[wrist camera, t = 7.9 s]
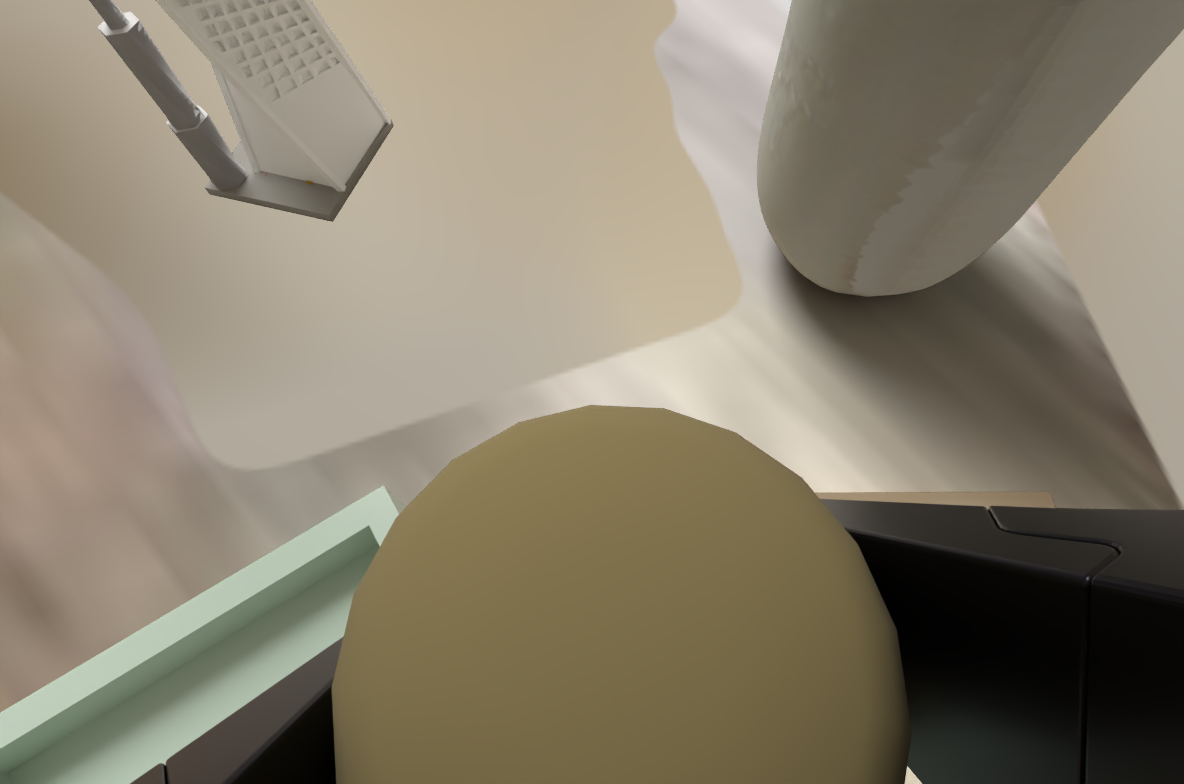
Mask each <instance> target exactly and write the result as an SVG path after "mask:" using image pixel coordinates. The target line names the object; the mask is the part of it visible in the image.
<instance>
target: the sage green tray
mask: <svg viewBox="0 0 1184 784" xmlns="http://www.w3.org/2000/svg"><path fill="white" fill-rule="evenodd" d="M405 508H406V506H405V505H404V504H403V503H402V502H400V501H399V500H398V499H397V498H396V497H395V496H394V495H393V494H392V493H391V492H390V491H389V490H388V489H387V488H386V487H385V486H384V485H383V486H381V487H380V488H378V489H376V490H375V491H373V492H371V493H370V494H368V495H366V496H365V497H363V498H361V499H360V500H358V501H356V502H354V503H353V504H351V505H349V506H348V507H346V508H344V509H343V510H341V511H339V512H338V513H336V514H334V515H333V516H331V517H329V518H327V519H326V520H324V521H322V522H321V523H319V524H317V525H316V526H314V527H312V528H311V529H309V530H307V531H306V532H304V533H302V534H301V535H299V536H297V537H295V538H294V539H292V540H290V541H289V542H287V543H285V544H284V545H282V546H280V547H279V548H277V549H275V550H274V551H272V552H270V553H269V554H267V555H265V556H263V557H262V558H260V559H258V560H257V561H255V562H253V563H252V564H250V565H248V566H247V567H245V568H243V569H242V570H240V571H238V572H237V573H235V574H233V575H231V576H230V577H228V578H226V579H225V580H223V581H221V582H220V583H218V584H216V585H215V586H213V587H211V588H210V589H208V590H206V591H204V592H203V593H201V594H199V595H198V596H196V597H194V598H193V599H191V600H189V601H188V602H186V603H184V604H183V605H181V606H179V607H178V608H176V609H174V610H172V611H171V612H169V613H167V614H166V615H164V616H162V617H161V618H159V619H157V620H156V621H154V622H152V623H151V624H149V625H147V626H146V627H144V628H142V629H140V630H139V631H137V632H135V633H134V634H132V635H130V636H129V637H127V638H125V639H124V640H122V641H120V642H119V643H117V644H115V645H114V646H112V647H110V648H108V649H107V650H105V651H103V652H102V653H100V654H98V655H97V656H95V657H93V658H92V659H90V660H88V661H87V662H85V663H83V664H81V665H80V666H78V667H76V668H75V669H73V670H71V671H70V672H68V673H66V674H65V675H63V676H61V677H60V678H58V679H56V680H55V681H53V682H51V683H49V684H48V685H46V686H44V687H43V688H41V689H39V690H38V691H36V692H34V693H33V694H31V695H29V696H28V697H26V698H24V699H23V700H21V701H19V702H17V703H16V704H14V705H12V706H11V707H9V708H7V709H6V710H4V711H2V712H1V713H0V784H130V783H131V782H133V781H134V780H136V779H137V778H139V777H140V776H142V775H143V774H144V773H146V772H147V771H149V770H150V769H152V768H153V767H154V766H156V765H157V764H159V763H163V764H164V765H165V766H166V760H167V759H168V758H170V757H171V756H172V755H174V754H175V753H177V752H178V751H180V750H181V749H182V748H184V747H185V746H187V745H188V744H190V743H191V742H192V741H194V740H195V739H197V738H198V737H200V736H201V735H203V734H204V733H205V732H207V731H208V730H210V729H211V728H213V727H214V726H215V725H217V724H218V723H220V722H221V721H223V720H224V719H226V718H227V717H228V716H230V715H231V714H233V713H234V712H236V711H237V710H238V709H240V708H241V707H243V706H244V705H246V704H247V703H248V702H250V701H251V700H253V699H254V698H256V697H257V696H259V695H260V694H261V693H263V692H264V691H266V690H267V689H269V688H270V687H271V686H273V685H274V684H276V683H277V682H279V681H280V680H281V679H283V678H284V677H286V676H287V675H289V674H290V673H292V672H293V671H294V670H296V669H297V668H299V667H300V666H302V665H303V664H304V663H306V662H307V661H309V660H310V659H312V658H313V657H314V656H316V655H317V654H319V653H320V652H322V651H323V650H325V649H326V648H327V647H329V646H330V645H332V644H333V643H335V642H336V641H337V640H339V639H340V638H342V637H343V636H344V633H345V628H346V624H347V620H348V616H349V611H350V607H351V603H352V599H353V594H354V593H355V591H356V589H357V587H358V585H359V584H360V582H361V580H362V578H363V576H364V575H365V573H366V571H367V569H368V567H369V566H370V564H371V562H372V560H373V558H374V556H375V555H376V553H377V551H378V549H379V547H380V546H381V544H382V542H383V540H384V538H385V537H386V535H387V533H388V531H389V529H390V527H391V526H392V524H393V522H394V520H395V518H396V517H397V516H398V515H399V514H400V513H401V512H402V511H403V510H404V509H405Z"/></svg>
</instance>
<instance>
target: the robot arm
mask: <svg viewBox="0 0 1184 784" xmlns="http://www.w3.org/2000/svg"><path fill="white" fill-rule="evenodd" d="M820 500H821V501H822V502H823V503H824V505H825V506H826V507H827V508H828V509H829V511H830V512H831V513H832V514H833V515H834V517H835V518H836V519H837V520H838V521H839V523H840V524H841V525H842V526H843V527H844V528H845V530H846V531H847V532H848V533H849V534H850V536H851V537H852V538H853V539H854V540H855V542H856V543H857V544H858V546H859V548H860V550H861V552H862V555H863V557H864V559H865V561H866V563H867V566H868V568H869V570H870V572H871V574H872V577H873V579H874V581H875V583H876V585H877V588H878V590H879V592H880V594H881V596H882V598H883V601H884V603H885V605H886V607H887V609H888V612H889V614H890V616H891V618H892V620H893V623H894V625H895V627H896V629H897V634H898V641H899V647H900V654H901V661H902V667H903V674H904V680H905V687H906V694H907V700H908V707H909V713H910V720H911V727H912V735H911V741H910V748H909V755H908V762H907V766H908V767H909V768H910V769H911V771H912V772H913V773H914V774H915V775H916V777H917V778H918V779H919V780H920V781H921V783H922V784H1184V510H1126V509H1071V508H1042V507H1014V506H990V507H989V508H988V509H987V508H986V507H984V506H968V505H946V504H925V503H903V502H881V501H859V500H838V499H820ZM343 637H344V636H343ZM343 637H342V638H340V639H339V640H337V641H336V642H335V643H333V644H332V645H330V646H329V647H327V648H326V649H325V650H323V651H322V652H320V653H319V654H317V655H316V656H314V657H313V658H312V659H310V660H309V661H307V662H306V663H304V664H303V665H302V666H300V667H299V668H297V669H296V670H294V671H293V672H292V673H290V674H289V675H287V676H286V677H284V678H283V679H281V680H280V681H279V682H277V683H276V684H274V685H273V686H271V687H270V688H269V689H267V690H266V691H264V692H263V693H261V694H260V695H259V696H257V697H256V698H254V699H253V700H251V701H250V702H248V703H247V704H246V705H244V706H243V707H241V708H240V709H238V710H237V711H236V712H234V713H233V714H231V715H230V716H228V717H227V718H226V719H224V720H223V721H221V722H220V723H218V724H217V725H215V726H214V727H213V728H211V729H210V730H208V731H207V732H205V733H204V734H203V735H201V736H200V737H198V738H197V739H195V740H194V741H192V742H191V743H190V744H188V745H187V746H185V747H184V748H182V749H181V750H180V751H178V752H177V753H175V754H174V755H172V756H171V757H170V758H168V759H167V760H166V766H165V765H164V764H163V763H159V764H157V765H156V766H154V767H153V768H152V769H150V770H149V771H147V772H146V773H144V774H143V775H142V776H140V777H139V778H137V779H136V780H134V781H133V782H131V783H130V784H336V768H335V747H334V726H333V705H332V683H333V679H334V675H335V671H336V666H337V662H338V658H339V654H340V650H341V645H342V641H343Z"/></svg>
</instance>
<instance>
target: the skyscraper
mask: <svg viewBox="0 0 1184 784" xmlns="http://www.w3.org/2000/svg"><path fill="white" fill-rule="evenodd" d="M89 1H90V2H91V3H92V5H93V6H94V7H95V9H96V10H97V11H98V13H99V14H100V15H101V16H102V18H103V19H104V21H103V22H102V24H100V25H99V26H98V28H99V30H100V31H101V32H102V34H103V35H104V36H105V37H106V39H107V40H108V41H109V43H110V44H111V45H112V46H113V48H114V49H115V50H116V52H117V53H118V54H119V56H120V57H121V58H122V59H123V61H124V62H125V63H126V65H127V66H128V67H129V69H130V70H131V71H132V72H133V74H134V75H135V76H136V78H137V79H138V80H139V81H140V83H141V84H142V85H143V87H144V88H145V89H146V91H147V92H148V93H149V94H150V96H151V97H152V98H153V100H154V101H155V102H156V104H157V105H158V106H159V107H160V109H161V110H162V111H163V113H164V114H165V115H166V117H167V118H168V121H167V124H168V126H169V127H170V128H171V129H172V131H173V132H174V133H175V134H176V136H177V137H178V138H179V139H180V141H181V142H182V143H183V144H184V146H185V147H186V148H187V150H188V151H189V152H190V153H191V155H192V156H193V157H194V159H195V160H196V161H197V162H198V164H199V165H200V166H201V167H202V169H203V170H204V171H205V172H206V174H207V175H208V176H209V178H210V181H209V183H208V184H207V185H206V187H205V189H206V190H207V191H208V193H209V194H211V195H215V196H220V197H225V198H229V199H234V200H238V201H242V202H247V203H252V204H256V205H261V206H265V207H269V208H274V209H278V210H283V211H287V212H292V213H296V214H301V215H305V216H310V217H315V218H318V219H323V220H327V221H334V219H335V217H336V216H337V214H338V212H339V211H340V209H341V208H342V206H343V205H344V203H345V202H346V200H347V198H348V197H349V195H350V194H351V192H352V191H353V189H354V187H355V186H356V184H357V183H358V181H359V179H360V178H361V176H362V175H363V173H364V171H365V170H366V168H367V167H368V165H369V164H370V162H371V161H372V159H373V157H374V156H375V154H376V153H377V151H378V149H379V148H380V146H381V144H382V143H383V141H384V140H385V138H386V137H387V135H388V134H389V132H390V131H391V129H392V127H393V123H392V120H391V118H390V117H389V115H388V114H387V112H386V111H385V109H384V108H383V106H382V105H381V103H380V102H379V100H378V99H377V97H376V96H375V94H374V93H373V91H372V90H371V88H370V87H369V85H368V84H367V82H366V81H365V79H364V78H363V76H362V75H361V73H360V72H359V70H358V69H357V67H356V66H355V64H354V63H353V62H352V60H351V59H350V57H349V55H348V54H347V53H346V51H345V49H344V48H343V47H342V45H341V44H340V42H339V41H338V39H337V38H336V36H335V35H334V33H333V32H332V30H331V29H330V27H329V26H328V24H327V23H326V22H325V20H324V18H323V17H322V16H321V14H320V13H319V11H318V10H317V8H316V7H315V5H314V4H313V2H312V1H311V0H156V1H157V2H158V4H159V5H160V6H161V7H162V8H163V9H164V10H165V12H166V13H167V14H168V15H169V16H170V17H171V19H172V20H173V21H174V22H175V23H176V24H177V25H178V26H179V27H180V29H181V30H182V31H183V32H184V33H185V34H186V35H187V36H188V37H189V39H190V40H191V41H192V42H193V43H194V44H195V45H196V46H197V47H198V49H199V50H200V51H201V52H202V53H203V54H204V55H205V56H206V58H207V59H208V60H209V61H210V62H211V64H212V67H213V69H214V72H215V75H216V77H217V80H218V83H219V85H220V88H221V90H222V93H223V95H224V98H225V100H226V103H227V106H228V108H229V111H230V114H231V116H232V119H233V121H234V123H235V126H236V129H237V131H238V134H239V136H240V139H241V142H240V143H239V144H238V146H237V147H236V148H235V149H234V151H233V152H231V151H230V149H229V147H228V146H227V144H226V142H225V141H224V139H223V138H222V136H221V135H220V133H219V131H218V130H217V128H216V127H215V125H214V123H213V122H212V120H211V119H210V117H209V115H208V114H207V113H206V112H205V111H204V110H203V109H202V108H201V107H200V106H199V105H197V106H196V105H195V103H194V102H193V101H192V99H191V98H190V96H189V95H188V93H187V92H186V90H185V89H184V87H183V86H182V84H181V83H180V81H179V80H178V78H177V76H176V75H175V73H174V72H173V70H172V69H171V68H170V66H169V65H168V63H167V62H166V60H165V59H164V57H163V56H162V54H161V52H160V51H159V49H158V48H157V46H156V45H155V43H154V42H153V41H152V39H151V37H150V36H149V35H148V33H147V31H146V30H145V28H144V27H143V25H142V24H141V22H140V21H139V20H138V19H137V18H136V17H135V16H134V15H133V14H132V13H131V12H126V13H122V12H121V11H120V9H119V8H118V6H117V5H116V4H115V2H114V1H113V0H89Z"/></svg>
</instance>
